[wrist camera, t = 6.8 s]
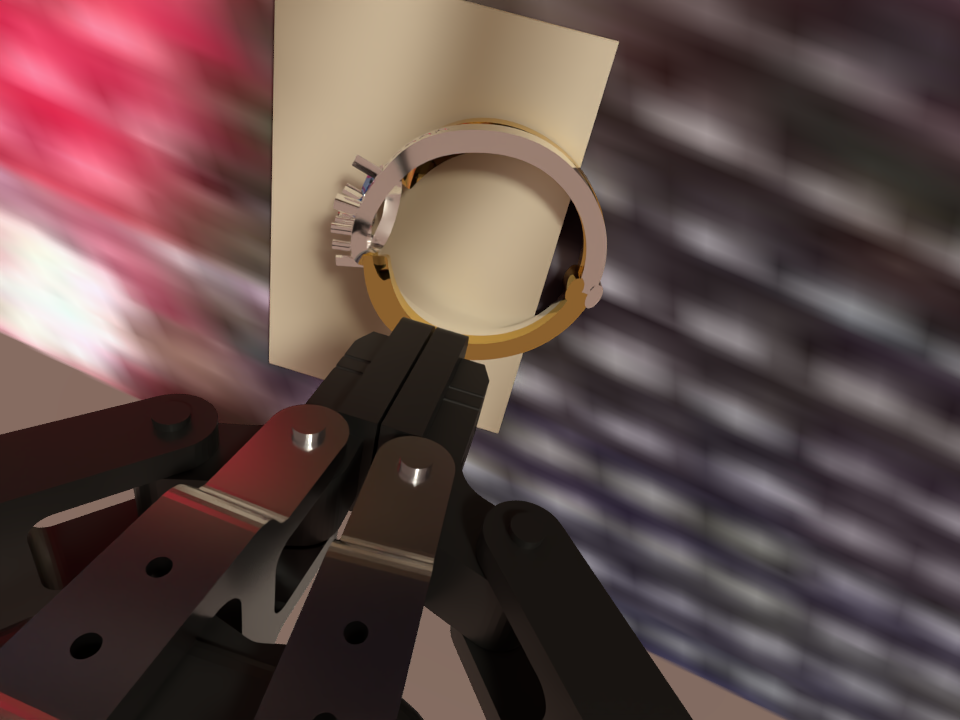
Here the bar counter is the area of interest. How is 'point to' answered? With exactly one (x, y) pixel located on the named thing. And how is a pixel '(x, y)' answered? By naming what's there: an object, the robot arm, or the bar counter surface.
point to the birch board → (437, 195)
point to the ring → (415, 162)
